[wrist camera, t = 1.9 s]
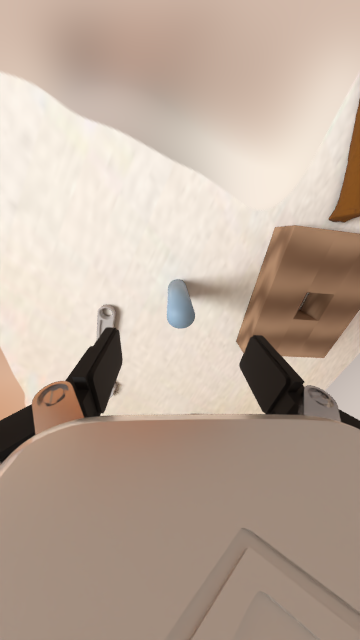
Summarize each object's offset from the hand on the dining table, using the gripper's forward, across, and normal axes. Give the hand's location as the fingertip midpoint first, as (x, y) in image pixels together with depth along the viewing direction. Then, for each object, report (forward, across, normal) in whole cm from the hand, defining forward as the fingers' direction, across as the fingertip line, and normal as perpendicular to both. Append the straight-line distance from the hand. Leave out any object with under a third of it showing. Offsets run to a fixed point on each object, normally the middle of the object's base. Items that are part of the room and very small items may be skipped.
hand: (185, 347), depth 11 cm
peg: (+16, 0, +1) cm, 16 cm away
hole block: (+16, -21, +1) cm, 26 cm away
